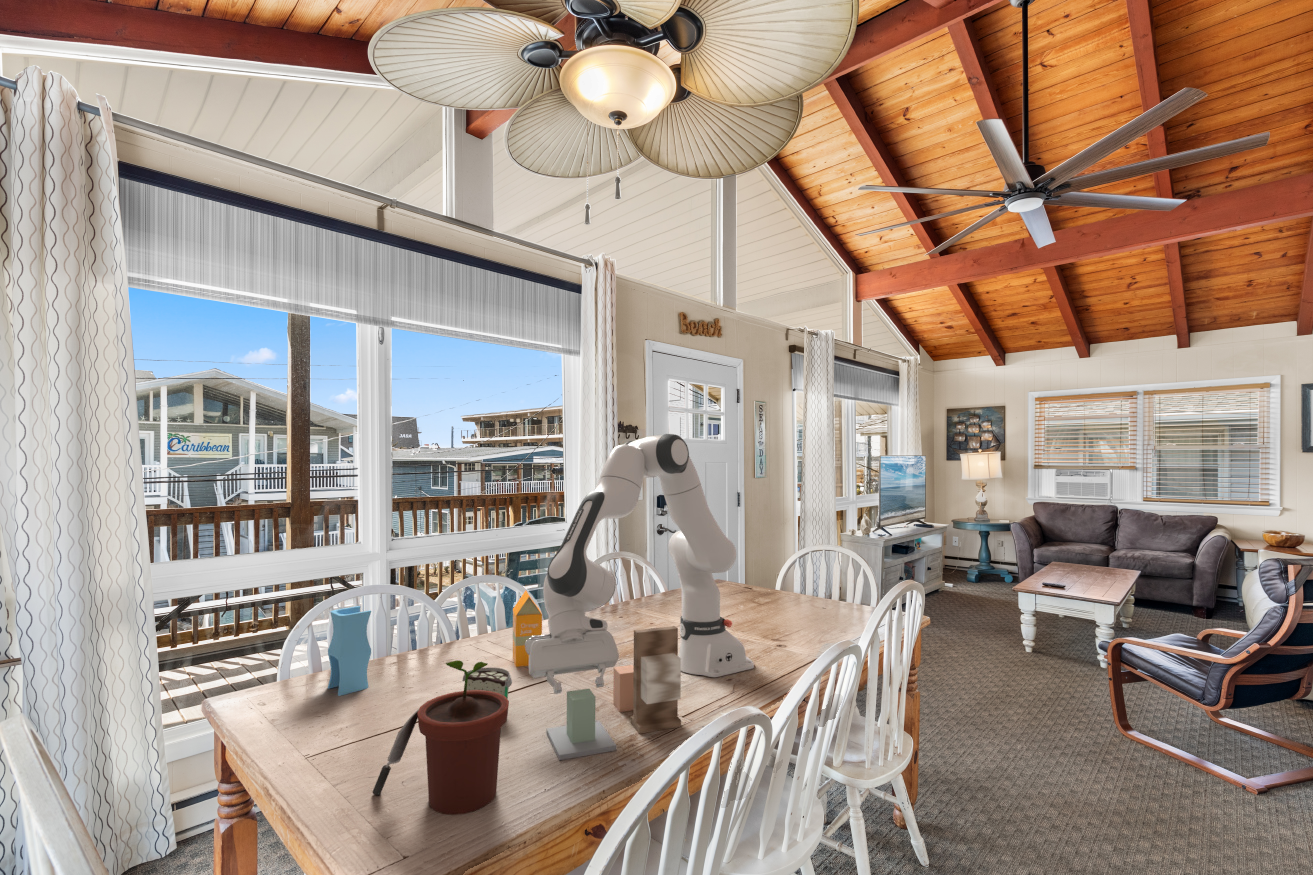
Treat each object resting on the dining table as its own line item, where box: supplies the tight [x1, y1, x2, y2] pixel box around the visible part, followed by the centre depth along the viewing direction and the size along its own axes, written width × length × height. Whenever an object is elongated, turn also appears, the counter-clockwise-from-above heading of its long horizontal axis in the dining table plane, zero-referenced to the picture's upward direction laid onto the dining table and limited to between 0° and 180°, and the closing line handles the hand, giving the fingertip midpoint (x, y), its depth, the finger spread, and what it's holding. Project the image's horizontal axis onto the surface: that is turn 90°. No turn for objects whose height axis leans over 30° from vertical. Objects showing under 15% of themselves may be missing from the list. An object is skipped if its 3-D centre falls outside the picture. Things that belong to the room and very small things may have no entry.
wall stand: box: [629, 625, 682, 735], centre depth 141 cm, size 10×8×22 cm
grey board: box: [546, 719, 617, 761], centre depth 133 cm, size 12×13×1 cm
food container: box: [462, 667, 513, 700], centre depth 147 cm, size 12×6×10 cm, turn 71°
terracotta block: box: [612, 664, 634, 713], centre depth 152 cm, size 5×5×9 cm
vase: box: [327, 605, 372, 697], centre depth 163 cm, size 8×8×20 cm
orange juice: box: [512, 590, 543, 668], centre depth 185 cm, size 8×9×20 cm
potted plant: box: [372, 660, 510, 816], centre depth 114 cm, size 18×22×25 cm
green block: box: [566, 688, 596, 744], centre depth 134 cm, size 5×5×9 cm
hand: (579, 689), depth 136 cm, fingers open, 8 cm apart
